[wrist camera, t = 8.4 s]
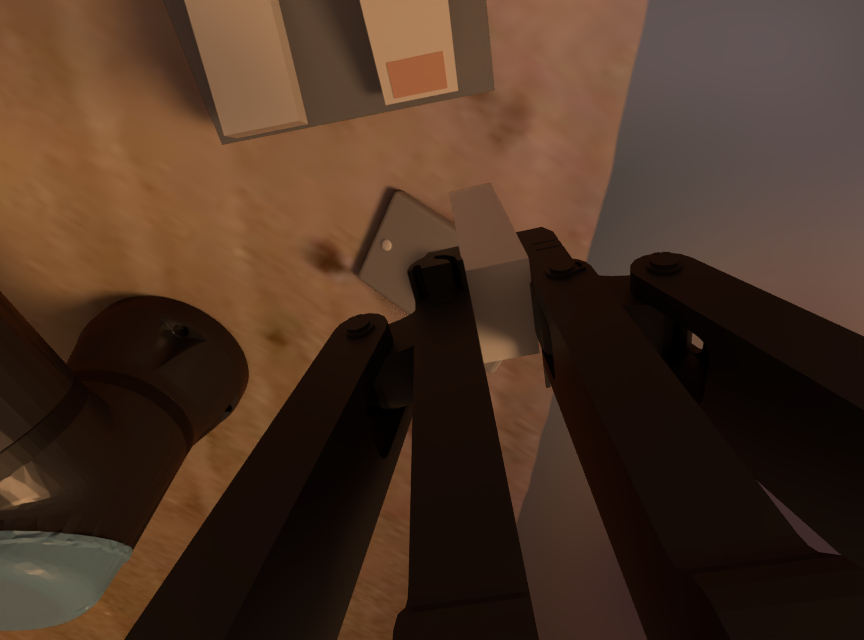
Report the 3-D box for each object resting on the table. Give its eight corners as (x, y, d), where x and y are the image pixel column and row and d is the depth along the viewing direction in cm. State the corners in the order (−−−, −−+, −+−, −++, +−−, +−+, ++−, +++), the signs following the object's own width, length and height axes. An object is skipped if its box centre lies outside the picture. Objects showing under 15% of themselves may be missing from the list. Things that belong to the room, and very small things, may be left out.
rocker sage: (237, 138, 26) (223, 135, 24) (185, -41, 23) (167, -56, 22) (308, 124, 26) (298, 120, 24) (264, -59, 23) (250, -77, 21)
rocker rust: (385, 92, 27) (385, 105, 26) (337, -104, 20) (335, -96, 19) (455, 78, 27) (458, 91, 26) (431, -127, 20) (434, -120, 19)
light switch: (388, 190, 34) (547, 295, 31) (422, 188, 39) (561, 278, 36) (350, 279, 38) (487, 380, 35) (385, 267, 43) (508, 354, 40)
